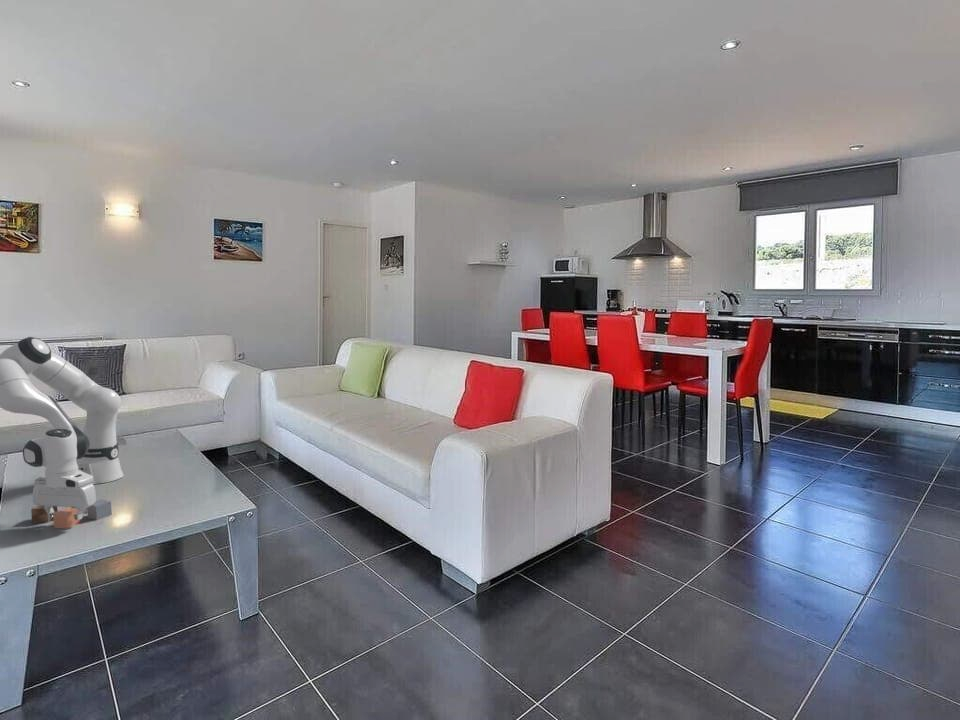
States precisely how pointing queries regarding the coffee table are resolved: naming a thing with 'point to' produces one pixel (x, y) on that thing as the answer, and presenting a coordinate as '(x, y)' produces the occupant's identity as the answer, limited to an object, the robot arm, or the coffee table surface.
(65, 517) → the terracotta cube
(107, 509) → the slate cube
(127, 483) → the coffee table surface
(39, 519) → the walnut cube
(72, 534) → the coffee table surface
